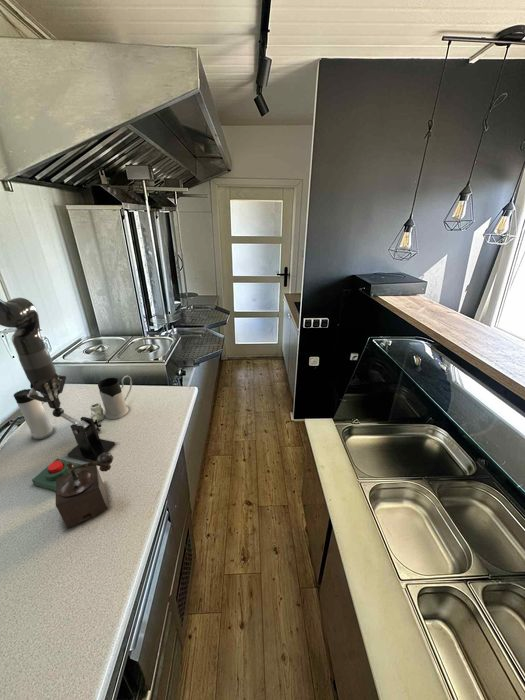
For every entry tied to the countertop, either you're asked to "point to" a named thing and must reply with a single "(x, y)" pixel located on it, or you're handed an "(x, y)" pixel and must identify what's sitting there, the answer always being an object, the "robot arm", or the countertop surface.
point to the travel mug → (34, 415)
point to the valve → (97, 414)
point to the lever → (69, 418)
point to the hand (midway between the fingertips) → (56, 407)
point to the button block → (52, 476)
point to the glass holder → (113, 397)
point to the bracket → (88, 442)
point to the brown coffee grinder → (82, 491)
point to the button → (55, 467)
